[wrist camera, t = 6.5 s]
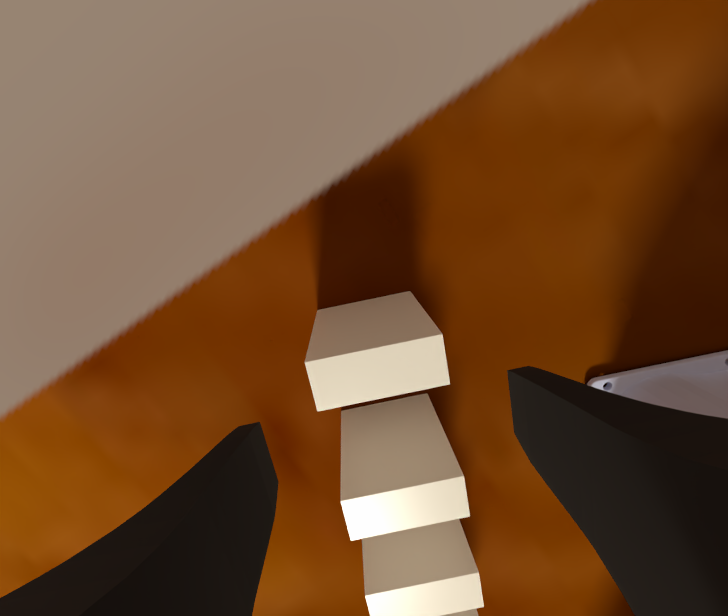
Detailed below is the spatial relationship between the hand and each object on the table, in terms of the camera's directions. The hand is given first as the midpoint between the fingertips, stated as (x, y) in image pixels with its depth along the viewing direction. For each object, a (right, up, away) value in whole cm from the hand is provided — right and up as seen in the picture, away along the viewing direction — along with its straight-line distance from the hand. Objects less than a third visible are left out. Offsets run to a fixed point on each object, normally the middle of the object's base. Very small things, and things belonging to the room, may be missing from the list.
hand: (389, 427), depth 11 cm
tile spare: (-1, +3, +10) cm, 10 cm away
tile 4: (+1, -3, +11) cm, 12 cm away
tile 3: (+2, -8, +13) cm, 15 cm away
